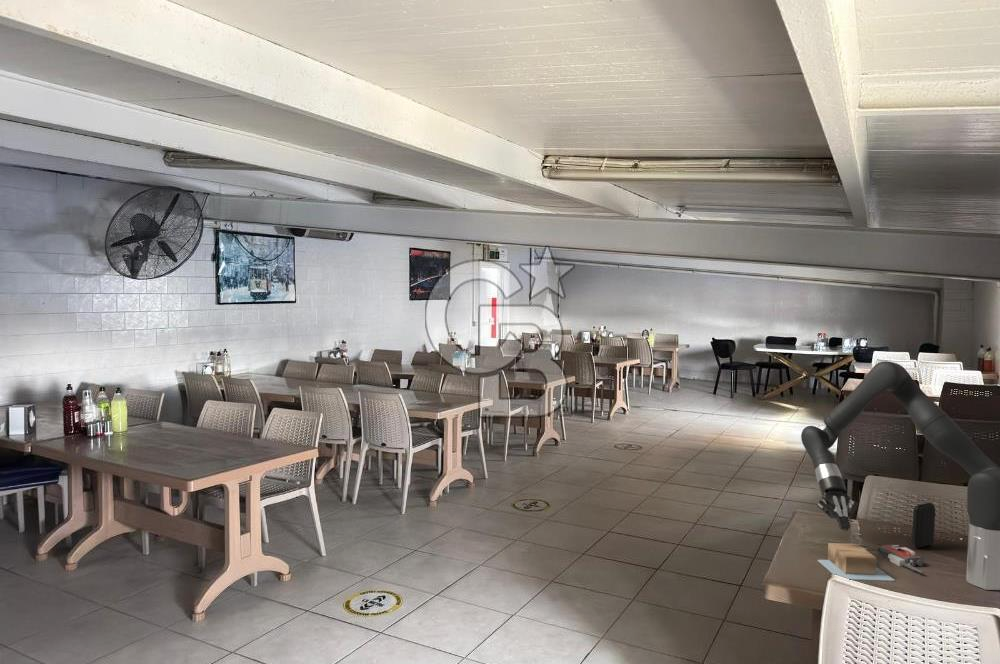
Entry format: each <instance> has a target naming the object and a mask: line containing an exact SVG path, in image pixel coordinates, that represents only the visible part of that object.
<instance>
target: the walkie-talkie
mask: <svg viewBox="0 0 1000 664" xmlns="http://www.w3.org/2000/svg"><path fill="white" fill-rule="evenodd" d="M876 551H877V552H879V553H880V555H881V554H883V555H884V556H883V555H882V556H883V557H885V556H886V558H888V559H889V561H890V563H892V564H893V565H897V566H898V567H905V568H907V569H910V570H911V571H914V572H918V573H919V574H922V575H924V571H923V570H921V569H920V568H919V569H918V568H917V566H916V565H918V567H921V566H923V565H924V557H921V556H920V555H918V554H917V553H916V552H915V551H914V550H913V549H910V548H908V547H906V546H905V547H904V546H902V547H901V546H900V545H899V544H882V545H881V546H880V548H879V547H878V548H877V549H876Z"/></svg>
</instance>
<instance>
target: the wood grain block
mask: <svg viewBox="0 0 1000 664" xmlns="http://www.w3.org/2000/svg"><path fill="white" fill-rule="evenodd" d="M827 547H828V548H827V560H830V561H831V562H832V563H833V564H835V565H836V566H837V567H838V568H839V569H841V570H842V571H843V572H844V573H846V574H876V567H877V562H878V558H877V557H876V556H875V555H873V554H872V553H871V552H870V551H868V550H866V549H865V548H864V547H862V546H861V545H860V544H858V543H837V542H836V543H835V542H831V543H830V542H828V545H827Z"/></svg>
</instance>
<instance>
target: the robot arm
mask: <svg viewBox="0 0 1000 664" xmlns="http://www.w3.org/2000/svg"><path fill="white" fill-rule="evenodd" d="M885 391H887V392H888V393H890V394H891V395H892V396H893V397H894V398H895V399H896V400H897V401H899V403H900V404H901V405H902V406H903V407H904V409H905V410H906V412H907V413H908V415H909V417H910V419H911V422H913V424H914V426H915V427H916V428H917V430H918V431H919V433H920V434H922V436H923V437H924V438H925V440H927V441H928V442H929V443H930V445H931V446H933V447H934V448H935V449H937V450H938V451H940V452H941V453H942V454H944V455H946V457H949V458H950V459H952V460H953V461H955V462H956V463H957V464H958V465H960V466H961V467H962V468H963V469H964V470H965V471H966V472H967V474H968V475H970V478H969V481H968V483H967V489H966V491H967V492H966V493H967V495H966V496H967V497H966V513H967V514H968V517H969V519H968V520H969V521H968V537H967V539H968V540H967V541H968V542H967V553H966V554H967V559H966V578H965V581H966V582H967V583H969V584H971V585H972V586H975V587H978V588H980V589H983V590H986V591H987V590H989V591H991V590H992V591H1000V466H998V465H997V464H996V463H995V462H994V461H992V459H991V458H989V457H988V456H987V455H986V454H985V453H984V452H983V451H982V450H981V449H980V448H979V447H978V446H977V445H976V444H975V443H974V442H973V441H972V440H971V438H970V437H969V436H968V435H967V434H966V433H965V432H964V431H963V430H962V428H960V426H959V425H957V423H956V422H955V421H954V420H953V419H952V418H951V417H950V416H949V415H948V414H947V413H946V411H944V410H943V409H942V408H941V407H940V406H939V405H938V404H937V403H936V402H935V401H934V400H933V399H931V398H930V397H929V396H928V395H927V394H926V393H925V392H924V391H923V390H922V389H921V387H920V386H919V384H917V383H916V382H915V380H914V379H913V377H912V376H911V375H910V373H909V371H907V369H906V368H905V367H904V366H902V365H901V364H900V363H896V362H892V361H888V360H886V361H880V362H878V363H876V364H875V365H873V367H872V368H871V369H870V370H869V372H868V373H867V374H866V375H865V376H864V378H863V379H862V380H861V381H860V383H859V384H858V385H857V386H856V387H855V388H854V389H853V390H852V391H851V392H850V393H849V394H848V395H847V397H846V398H844V399H843V400H842V401H841V402H840V403H839V404H838V405H836V406H835V407H834V408H833V409H832V410H831V411H829V412H828V413H827V414H826V415H825V416H824V417H823V424H824V426H825V427H824V428H823V429H821V428H819V427H817V426H814V425H808V426H805V427H804V428H803V429H802V430H801V435H800V438H801V443H802V445H803V447H804V449H805V451H806V452H807V454H808V456H809V457H810V459H811V460H812V461H811V462H812V464H813V468H814V471H815V472H814V473H815V478H816V481H817V483H818V486H819V487H818V488H819V489H820V493H821V497H822V498H821V500H819V501H818V503H817V505H816V506H817V507H818V508H819V509H820V510H821V511H822V512H824V514H826V515H827V516H828V517H829V518H831V519H835V520H836V521H837V524H838V527H839V529H840V530H842V531H843V532H848V531H849V530H850V528H851V523H850V519H851V517H852V516H853V515H854V514H855V511H856V510H857V508H858V506H859V503H860V502H859V501H855V500H852V499H851V497H850V496H849V494H848V491H847V488H846V485H845V482H844V480H843V476H842V474H841V471H840V469H839V467H838V464H837V461H836V458H835V456H834V454H833V453H832V451H830V450H829V449H830V448H831V447H833V445H834V444H835V443H836V442H837V440H838V438H839V437H840V435H841V434H842V432H843V431H844V430H845V429H846V428H848V427H849V426H850V425H852V423H854V421H856V419H858V417H859V416H860V415H861V414H862V413H863V411H864V410H865V408H866V407H867V405H868V404H870V403H871V402H872V401H873V400H874V399H875V398H876V397H878V396H879V395H881V394H882V393H884V392H885ZM848 505H849V506H848ZM848 507H849V510H848Z"/></svg>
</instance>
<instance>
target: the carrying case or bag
mask: <svg viewBox="0 0 1000 664" xmlns="http://www.w3.org/2000/svg"><path fill="white" fill-rule="evenodd" d="M936 514H937V513H936V507H935V504H933V503H932V502H925V503H921V504H917V505H915V506H914V508H913V512H912V535H911V537H912V538H911V544H912V546H913V547H914V548H915V549H921V548H920V547H922V548H924V546H926V547H929V546H931V545H933V543H934V539H935V526H936V525H935V524H936ZM928 545H929V546H928ZM918 547H919V548H918Z"/></svg>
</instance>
